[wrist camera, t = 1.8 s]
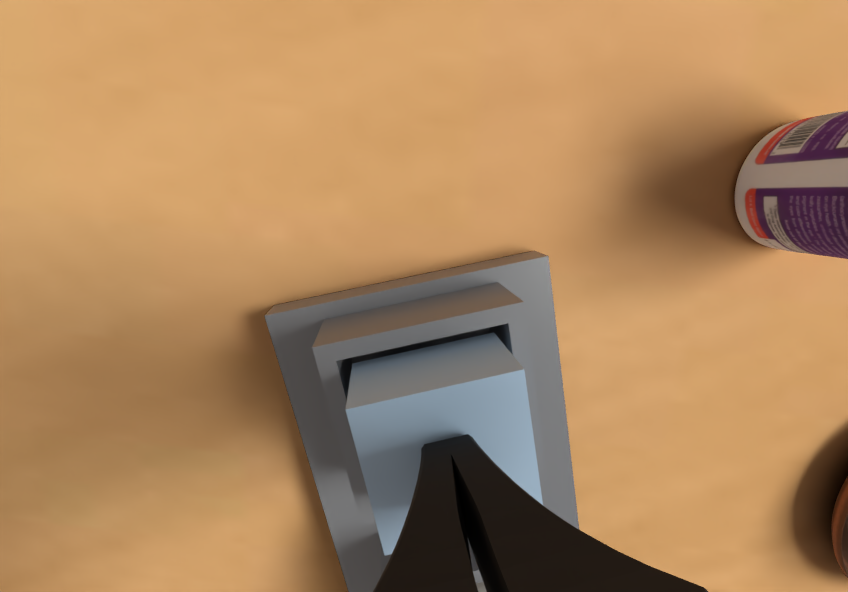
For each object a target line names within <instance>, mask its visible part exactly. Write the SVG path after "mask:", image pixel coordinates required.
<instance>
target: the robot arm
mask: <svg viewBox="0 0 848 592" xmlns="http://www.w3.org/2000/svg"><path fill="white" fill-rule="evenodd" d="M468 540H469V543H470V546H471V549H472V551H473V554H474V557H475V560H476V563H477V566H478V569H479V571H480V574H481V577H482V580H483V583H484V586H485V588H486V591H487V592H708V591H707V590H706V589H705V588H704V587H701V586H699V585H696V584H693V583H691V582H688V581H686V580H683V579H681V578H678V577H676V576H673V575H671V574H668V573H666V572H663V571H660V570H658V569H655V568H653V567H651V566H648V565H646V564H644V563H642V562H640V561H637V560H635V559H633V558H631V557H629V556H627V555H625V554H623V553H620V552H618V551H616V550H614V549H613V548H611V547H609V546H607V545H605V544H603V543H602V542H600V541H598V540H596V539H594V538H593V537H591V536H589V535H587V534H585V533H584V532H582V531H580V530H579V529H577V528H576V527H574V526H572V525H571V524H569V523H568V522H566V521H565V520H563V519H562V518H560V517H559V516H557V515H556V514H554V513H553V512H552V511H550V510H549V509H547V508H546V507H545V506H543V505H542V504H541V503H539V502H538V501H537V500H536V499H534V498H533V497H532V496H531V495H529V494H528V493H527V492H526V491H525V490H523V489H522V488H521V487H520V486H519V485H518V484H516V483H515V482H514V481H513V480H512V479H511V478H510V477H509V476H508V475H507V474H506V473H505V472H503V471H502V470H501V469H500V468H499V467H498V466H497V465H496V464H495V463H494V462H493V461H492V460H491V459H490V457H489V456H488V455H487V454H486V453H485V452H484V451H483V450H482V449H481V447H480V446H479V445H478V444H477V443H476V441H475V440H474V439H473V437H472V436H470V435H469V434H466V435H462V436H457V437H453V438H449V439H444V440H440V441H436V442H432V443H427V444H424V446H423V447H422V448H421V462H420V469H419V474H418V479H417V483H416V487H415V490H414V494H413V498H412V502H411V505H410V508H409V511H408V514H407V517H406V520H405V523H404V525H403V528H402V531H401V533H400V536H399V538H398V541H397V543H396V546H395V548H394V550H393V552H392V555H391V557H390V559H389V561H388V563H387V565H386V567H385V569H384V571H383V573H382V575H381V577H380V579H379V581H378V583H377V585H376V587H375V589H374V591H373V592H478V589H477V585H476V582H475V578H474V574H473V569H472V563H471V556H470V550H469V543H468Z"/></svg>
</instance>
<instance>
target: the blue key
mask: <svg viewBox="0 0 848 592" xmlns="http://www.w3.org/2000/svg"><path fill="white" fill-rule="evenodd" d="M345 410H346V414H347V417H348V421H349V425H350V428H351V432H352V436H353V440H354V443H355V447H356V451H357V455H358V458H359V462H360V466H361V469H362V473H363V477H364V481H365V484H366V488H367V492H368V495H369V499H370V503H371V507H372V510H373V514H374V518H375V522H376V525H377V529H378V533H379V536H380V540H381V544H382V548H383V551H384V555H385V556H386V555H390V554H392V552H393V550H394V548H395V546H396V543H397V541H398V538H399V536H400V533H401V531H402V528H403V525H404V523H405V520H406V517H407V514H408V511H409V508H410V505H411V502H412V498H413V494H414V490H415V487H416V483H417V479H418V474H419V469H420V462H421V448H422V447H423V446H424V444H427V443H432V442H436V441H440V440H444V439H449V438H453V437H457V436H462V435H466V434H469V435H470V436H472V437H473V439H474V440H475V441H476V443H477V444H478V445H479V446H480V447H481V449H482V450H483V451H484V452H485V453H486V454H487V455H488V456H489V457H490V459H491V460H492V461H493V462H494V463H495V464H496V465H497V466H498V467H499V468H500V469H501V470H502V471H503V472H505V473H506V474H507V475H508V476H509V477H510V478H511V479H512V480H513V481H514V482H515V483H516V484H518V485H519V486H520V487H521V488H522V489H523V490H525V491H526V492H527V493H528V494H529V495H531V496H532V497H533V498H534V499H536V500H537V501H538V502H539V503H541V504H542V505H543V501H542V494H541V486H540V479H539V472H538V465H537V457H536V450H535V443H534V436H533V428H532V421H531V414H530V407H529V399H528V392H527V385H526V378H525V371H524V368H523V367H522V366H521V365H520V363H519V362H518V361H517V360H516V359H515V357H514V356H513V355H512V354H511V352H510V351H509V350H508V349H507V348H506V346H505V345H504V344H503V343H502V342H501V340H500V339H499V338H498V337H497V335H496V334H495V333H494V332H493V333H489V334H484V335H480V336H475V337H471V338H466V339H462V340H457V341H452V342H448V343H443V344H439V345H434V346H430V347H425V348H421V349H416V350H411V351H407V352H402V353H398V354H393V355H389V356H384V357H380V358H375V359H371V360H366V361H361V362H357V363H352V370H351V376H350V383H349V389H348V396H347V403H346V409H345Z"/></svg>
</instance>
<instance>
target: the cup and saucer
mask: <svg viewBox="0 0 848 592" xmlns="http://www.w3.org/2000/svg"><path fill="white" fill-rule="evenodd" d="M831 532H832V541H833V548H834V552H835V557H836V559H837V562H838V564H839V566H840V568H841V570H842V571H843V572H844V574H845V575H846V576H847V578H848V476H847V478H846V480H845V482H844V484H843V485H842V487H841V490H840V492H839V494H838V497H837V500H836V503H835V506H834V511H833V515H832V525H831Z"/></svg>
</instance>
